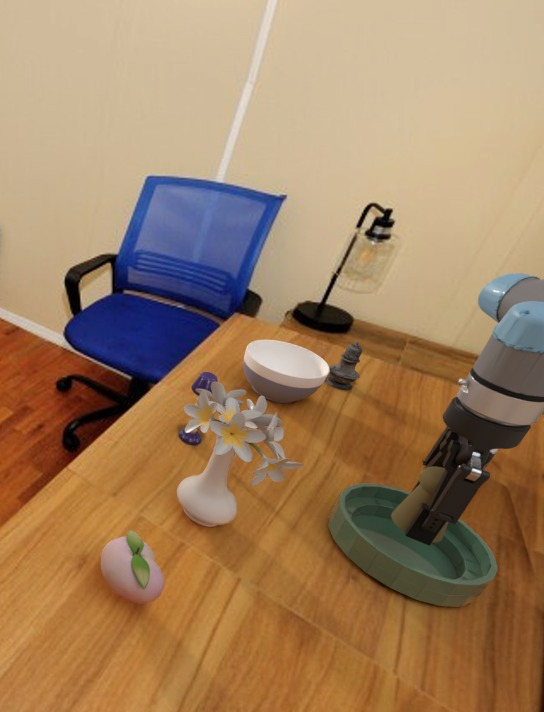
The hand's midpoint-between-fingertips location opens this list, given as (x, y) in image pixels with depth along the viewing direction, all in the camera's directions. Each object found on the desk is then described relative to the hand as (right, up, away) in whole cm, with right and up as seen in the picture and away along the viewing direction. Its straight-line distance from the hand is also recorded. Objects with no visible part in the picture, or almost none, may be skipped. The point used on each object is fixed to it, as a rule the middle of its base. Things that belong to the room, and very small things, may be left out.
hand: (415, 524), depth 80 cm
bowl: (+8, +13, +41) cm, 44 cm away
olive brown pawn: (0, 0, 0) cm, 1 cm away
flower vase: (-27, -3, +10) cm, 29 cm away
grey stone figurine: (+25, +15, +43) cm, 52 cm away
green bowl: (0, -6, +3) cm, 7 cm away
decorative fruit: (-47, -10, -1) cm, 48 cm away
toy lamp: (-20, +6, +27) cm, 35 cm away
